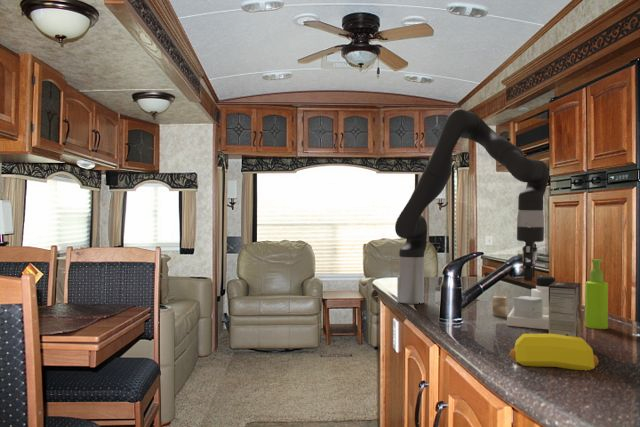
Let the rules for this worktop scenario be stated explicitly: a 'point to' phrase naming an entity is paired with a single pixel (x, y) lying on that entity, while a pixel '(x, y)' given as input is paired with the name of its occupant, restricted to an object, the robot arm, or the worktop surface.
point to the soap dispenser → (596, 298)
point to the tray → (529, 320)
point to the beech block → (500, 306)
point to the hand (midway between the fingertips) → (529, 279)
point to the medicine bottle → (543, 289)
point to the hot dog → (554, 352)
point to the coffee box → (565, 309)
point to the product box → (528, 307)
